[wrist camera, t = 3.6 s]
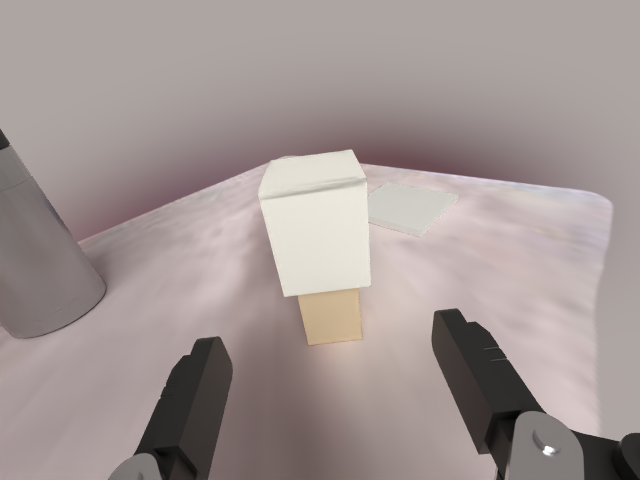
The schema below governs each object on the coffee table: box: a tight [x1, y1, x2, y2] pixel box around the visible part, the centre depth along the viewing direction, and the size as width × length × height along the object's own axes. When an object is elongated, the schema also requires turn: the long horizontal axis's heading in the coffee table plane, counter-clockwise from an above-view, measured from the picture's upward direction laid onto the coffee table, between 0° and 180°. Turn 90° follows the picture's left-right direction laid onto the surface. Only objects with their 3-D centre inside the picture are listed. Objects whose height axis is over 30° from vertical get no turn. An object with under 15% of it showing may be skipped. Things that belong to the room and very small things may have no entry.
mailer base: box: [297, 288, 362, 345], centre depth 23 cm, size 5×5×14 cm
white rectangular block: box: [258, 150, 371, 297], centre depth 21 cm, size 6×6×8 cm
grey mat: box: [367, 182, 458, 237], centre depth 43 cm, size 12×12×1 cm
